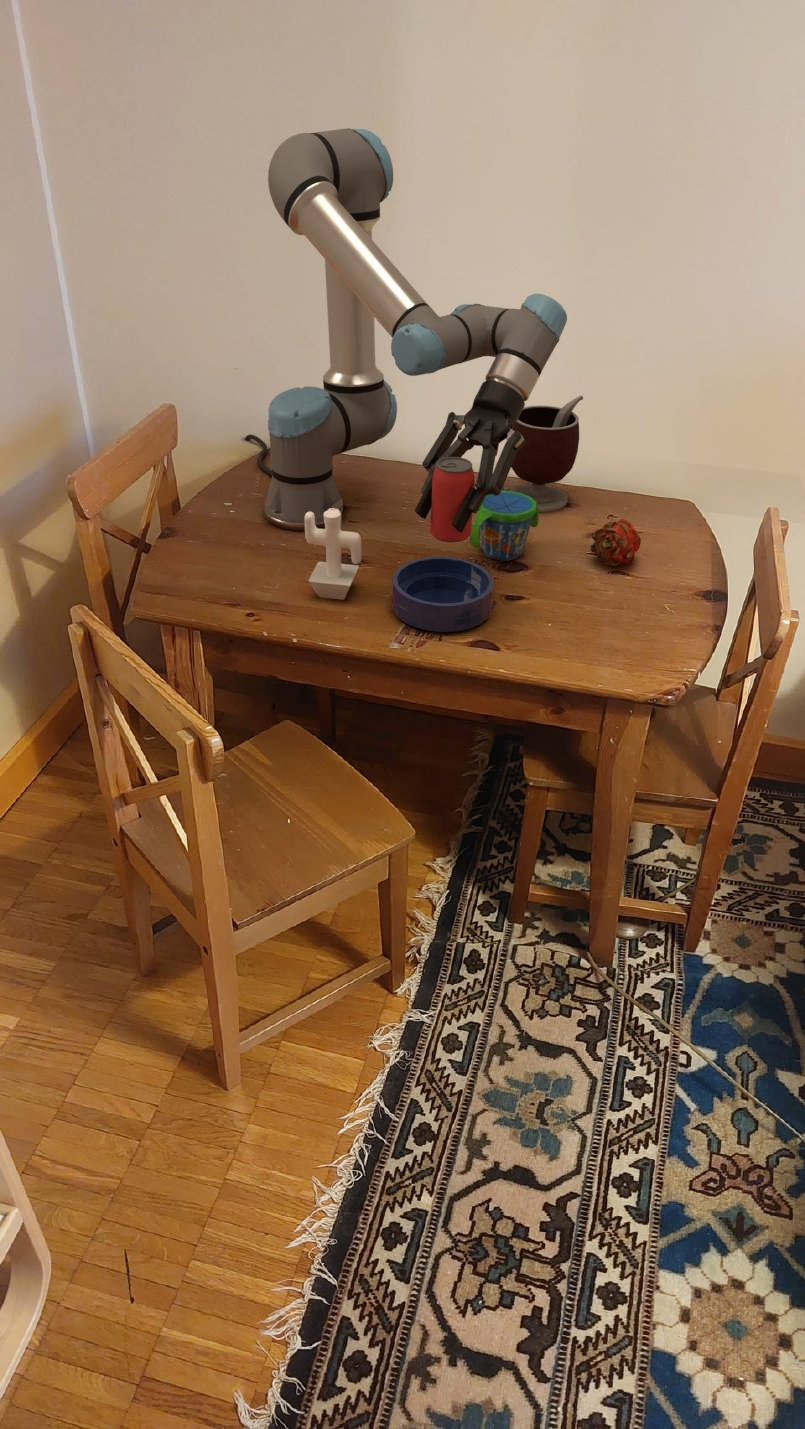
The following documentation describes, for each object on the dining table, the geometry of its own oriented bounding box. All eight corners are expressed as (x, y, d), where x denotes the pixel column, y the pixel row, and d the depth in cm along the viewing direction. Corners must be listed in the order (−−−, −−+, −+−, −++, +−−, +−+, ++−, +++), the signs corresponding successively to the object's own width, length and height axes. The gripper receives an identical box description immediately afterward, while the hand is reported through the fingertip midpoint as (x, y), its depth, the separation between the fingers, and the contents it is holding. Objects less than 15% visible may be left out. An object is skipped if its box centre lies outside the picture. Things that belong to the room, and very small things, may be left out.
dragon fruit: (603, 584, 181) (609, 563, 191) (647, 563, 177) (651, 543, 187) (580, 543, 178) (588, 524, 189) (624, 521, 175) (630, 503, 185)
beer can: (428, 526, 164) (430, 455, 157) (468, 525, 164) (472, 455, 157) (432, 544, 159) (435, 472, 151) (473, 543, 159) (478, 472, 152)
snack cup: (517, 532, 193) (522, 482, 187) (553, 554, 186) (559, 503, 180) (451, 552, 186) (454, 500, 180) (486, 575, 179) (490, 523, 173)
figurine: (356, 605, 170) (356, 524, 161) (302, 599, 171) (298, 518, 162) (365, 585, 176) (365, 505, 167) (313, 579, 177) (310, 500, 168)
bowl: (390, 585, 176) (390, 557, 172) (484, 584, 177) (487, 556, 173) (394, 635, 162) (395, 606, 159) (497, 634, 163) (499, 605, 160)
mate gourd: (529, 519, 198) (539, 419, 186) (489, 493, 208) (497, 396, 196) (591, 503, 205) (605, 406, 193) (550, 479, 214) (560, 385, 202)
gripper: (565, 418, 156) (498, 550, 156) (463, 390, 166) (399, 514, 165) (550, 393, 150) (480, 530, 149) (445, 365, 159) (379, 494, 159)
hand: (438, 521), depth 157 cm, fingers closed on beer can, 6 cm apart
